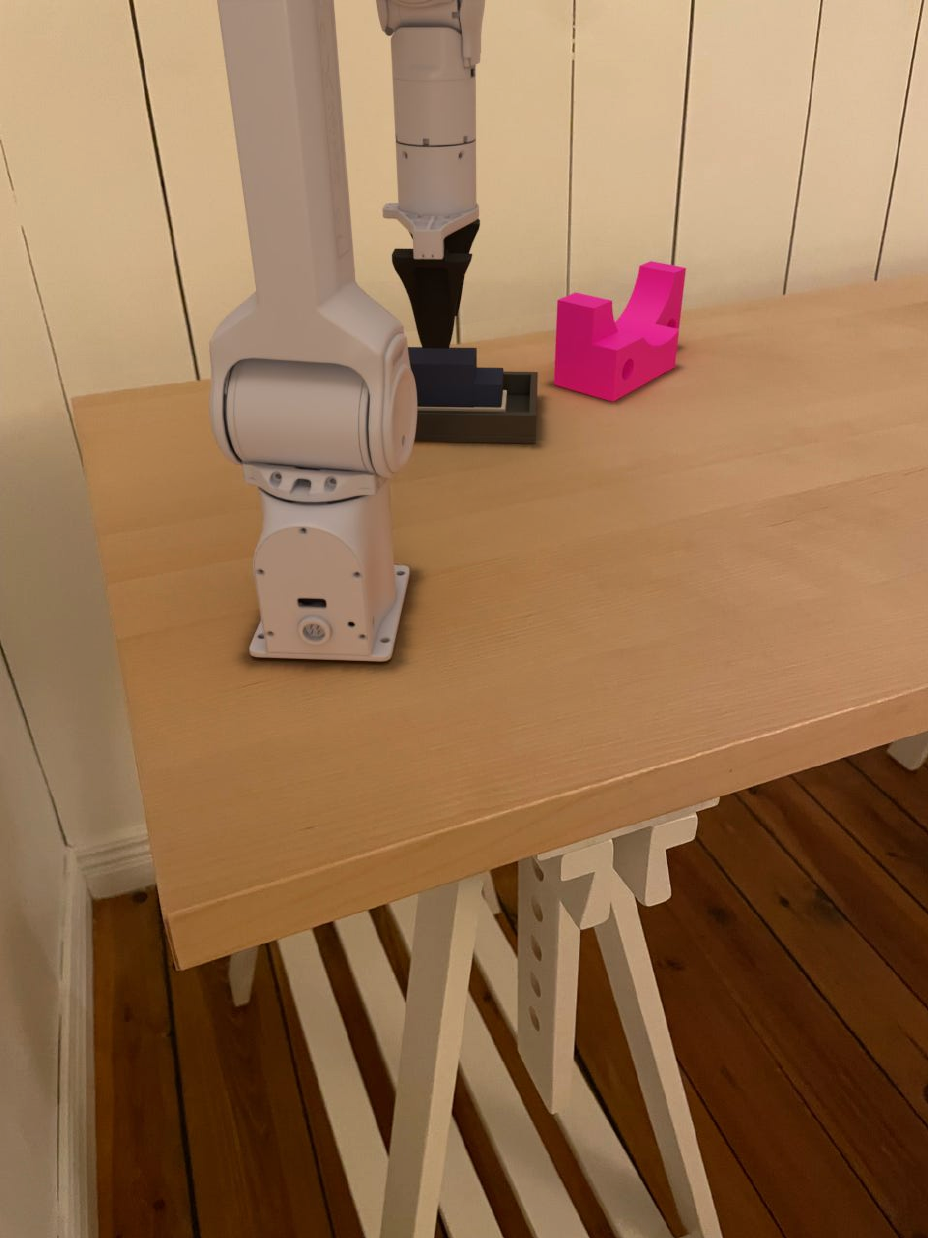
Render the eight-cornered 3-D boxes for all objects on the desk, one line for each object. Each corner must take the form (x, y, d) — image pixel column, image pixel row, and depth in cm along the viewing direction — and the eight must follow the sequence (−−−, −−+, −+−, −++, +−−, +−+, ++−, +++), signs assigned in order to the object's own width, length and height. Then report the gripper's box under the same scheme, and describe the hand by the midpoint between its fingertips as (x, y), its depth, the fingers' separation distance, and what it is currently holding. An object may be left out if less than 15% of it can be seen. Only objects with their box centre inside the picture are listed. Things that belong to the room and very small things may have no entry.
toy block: (612, 401, 84) (619, 314, 79) (553, 384, 87) (557, 299, 83) (700, 353, 93) (710, 272, 88) (643, 339, 96) (650, 260, 92)
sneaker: (382, 420, 79) (378, 363, 77) (388, 401, 83) (385, 345, 80) (504, 422, 79) (505, 365, 76) (506, 403, 82) (507, 347, 79)
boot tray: (535, 443, 77) (536, 415, 75) (345, 440, 78) (342, 411, 77) (536, 398, 84) (537, 371, 83) (363, 395, 85) (361, 369, 84)
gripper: (393, 124, 75) (401, 301, 83) (363, 158, 63) (376, 362, 71) (484, 123, 75) (484, 302, 82) (471, 158, 63) (473, 363, 71)
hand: (440, 330), depth 77 cm, fingers open, 7 cm apart
